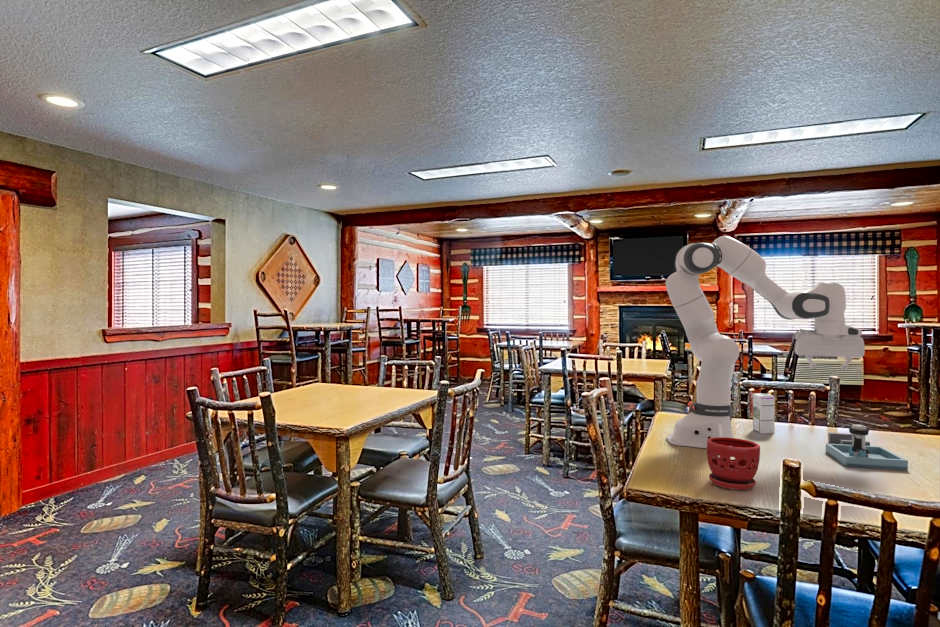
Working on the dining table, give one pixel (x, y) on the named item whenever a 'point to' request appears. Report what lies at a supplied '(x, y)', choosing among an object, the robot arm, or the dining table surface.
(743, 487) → the plant pot
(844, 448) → the tray
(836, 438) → the clip holder
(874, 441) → the dining table surface
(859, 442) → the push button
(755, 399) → the syrup box
